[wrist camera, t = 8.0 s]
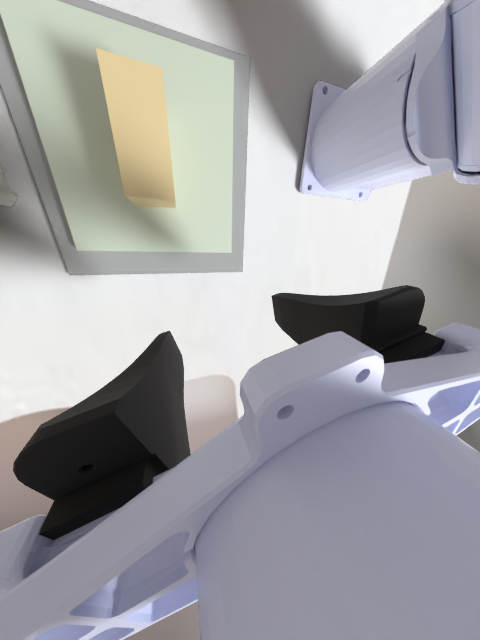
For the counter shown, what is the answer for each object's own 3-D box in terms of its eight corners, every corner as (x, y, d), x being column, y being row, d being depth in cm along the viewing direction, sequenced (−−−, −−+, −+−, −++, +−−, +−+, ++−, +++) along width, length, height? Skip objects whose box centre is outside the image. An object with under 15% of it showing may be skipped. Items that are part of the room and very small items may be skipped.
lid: (231, 69, 13) (253, -1, 9) (229, 252, 19) (243, 256, 15) (2, -5, 10) (-121, -173, 6) (81, 250, 15) (46, 254, 11)
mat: (248, 62, 14) (250, 57, 13) (241, 271, 20) (242, 271, 20) (-40, -37, 9) (-48, -48, 9) (71, 274, 16) (69, 275, 15)
